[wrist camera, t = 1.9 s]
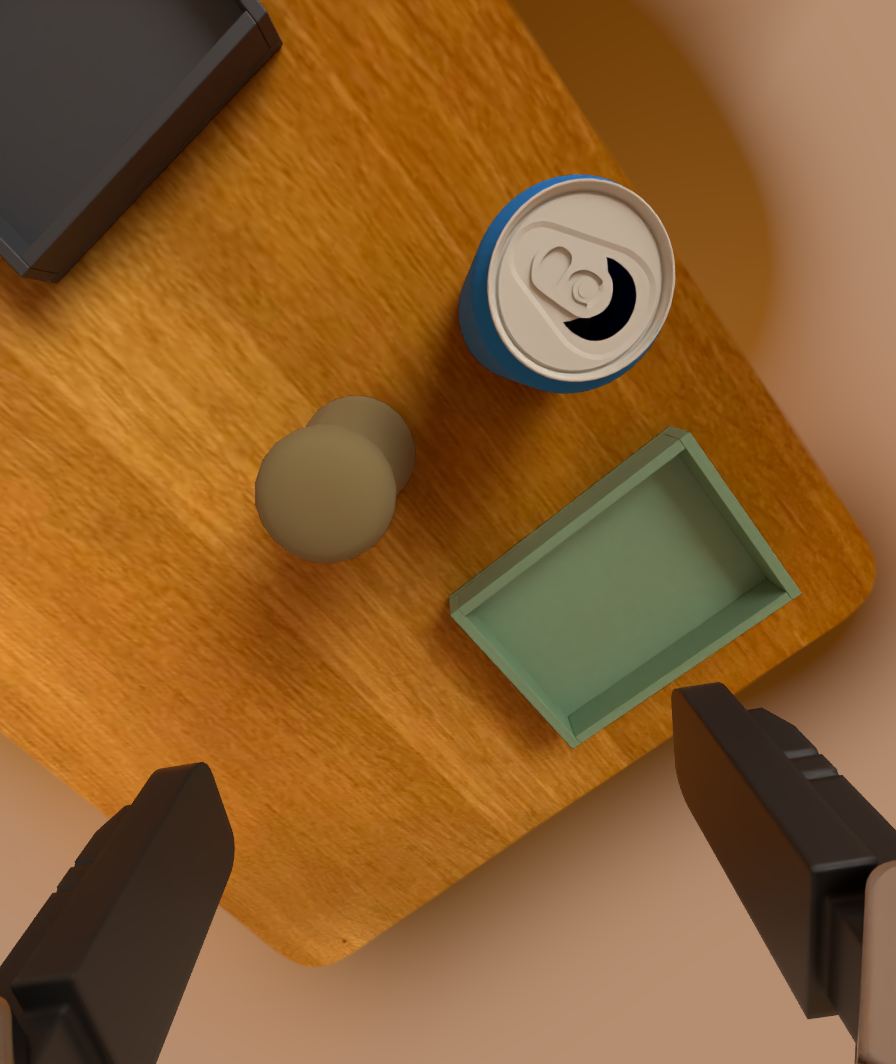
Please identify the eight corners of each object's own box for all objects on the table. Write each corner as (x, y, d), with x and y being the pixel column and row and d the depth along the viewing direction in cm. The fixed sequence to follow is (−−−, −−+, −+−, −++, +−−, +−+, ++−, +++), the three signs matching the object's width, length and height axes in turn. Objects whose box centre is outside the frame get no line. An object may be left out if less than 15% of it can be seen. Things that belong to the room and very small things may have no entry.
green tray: (669, 425, 30) (689, 431, 28) (775, 576, 33) (802, 593, 31) (448, 596, 33) (449, 615, 31) (563, 723, 36) (572, 749, 33)
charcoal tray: (80, -225, 22) (37, -294, 20) (283, 44, 25) (267, 11, 23) (-150, 69, 25) (-212, 39, 23) (56, 284, 28) (21, 277, 25)
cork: (439, 460, 31) (440, 515, 20) (355, 530, 32) (316, 618, 21) (361, 370, 29) (320, 379, 19) (277, 447, 30) (192, 496, 20)
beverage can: (537, 404, 30) (601, 436, 18) (433, 332, 29) (431, 318, 17) (613, 292, 28) (735, 250, 17) (506, 211, 27) (558, 108, 16)
